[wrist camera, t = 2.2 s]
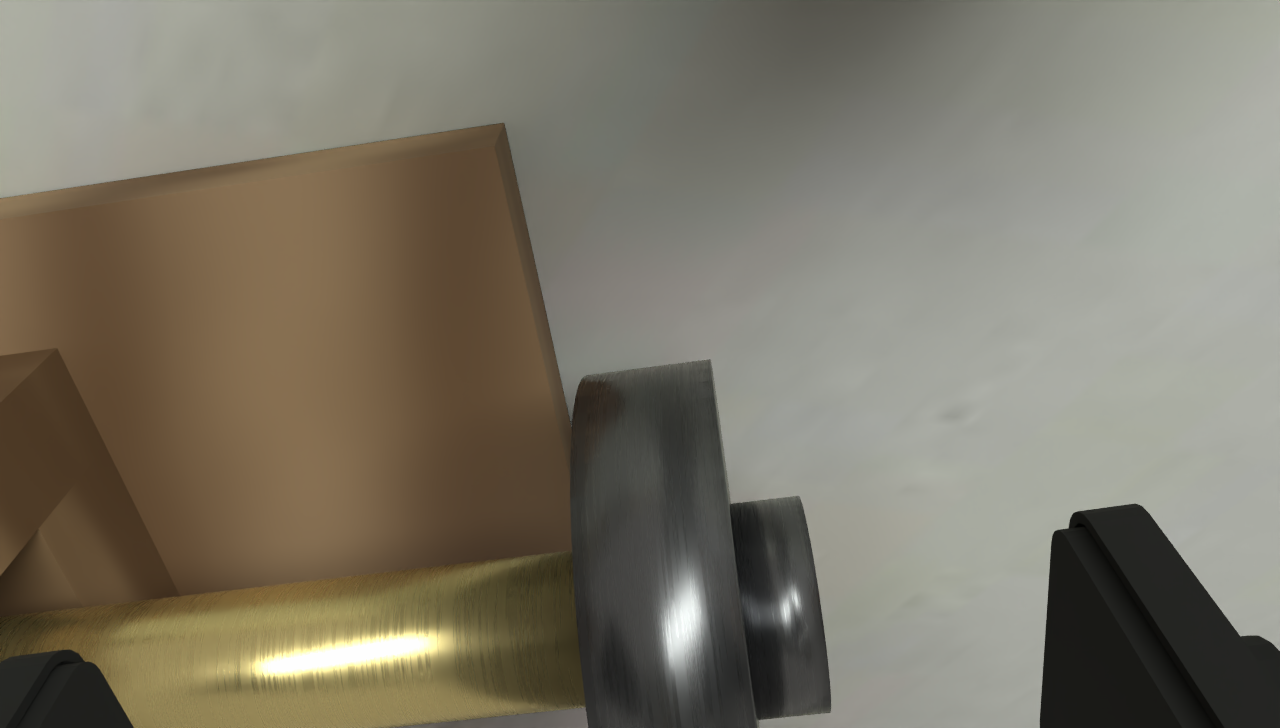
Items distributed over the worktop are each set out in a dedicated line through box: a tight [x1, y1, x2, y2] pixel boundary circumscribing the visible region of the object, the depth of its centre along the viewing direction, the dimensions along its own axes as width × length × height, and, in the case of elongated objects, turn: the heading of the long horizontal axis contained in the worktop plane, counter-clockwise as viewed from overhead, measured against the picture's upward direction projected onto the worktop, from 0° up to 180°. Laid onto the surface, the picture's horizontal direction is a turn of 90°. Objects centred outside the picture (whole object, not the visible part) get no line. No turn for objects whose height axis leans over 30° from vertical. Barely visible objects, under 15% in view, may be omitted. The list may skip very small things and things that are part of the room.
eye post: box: [0, 123, 572, 617], centre depth 16 cm, size 15×12×9 cm
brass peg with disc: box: [0, 359, 831, 728], centre depth 15 cm, size 17×7×7 cm, turn 99°
